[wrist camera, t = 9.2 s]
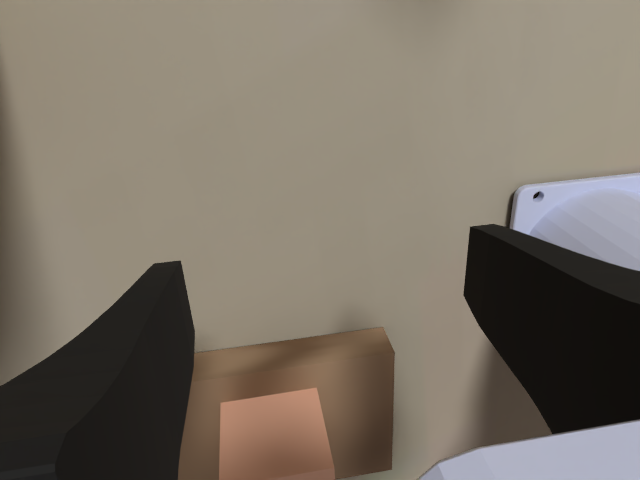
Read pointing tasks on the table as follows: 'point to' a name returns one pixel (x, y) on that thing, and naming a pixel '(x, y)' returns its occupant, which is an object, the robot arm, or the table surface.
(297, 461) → the terracotta cube
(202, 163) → the table surface
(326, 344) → the walnut board
